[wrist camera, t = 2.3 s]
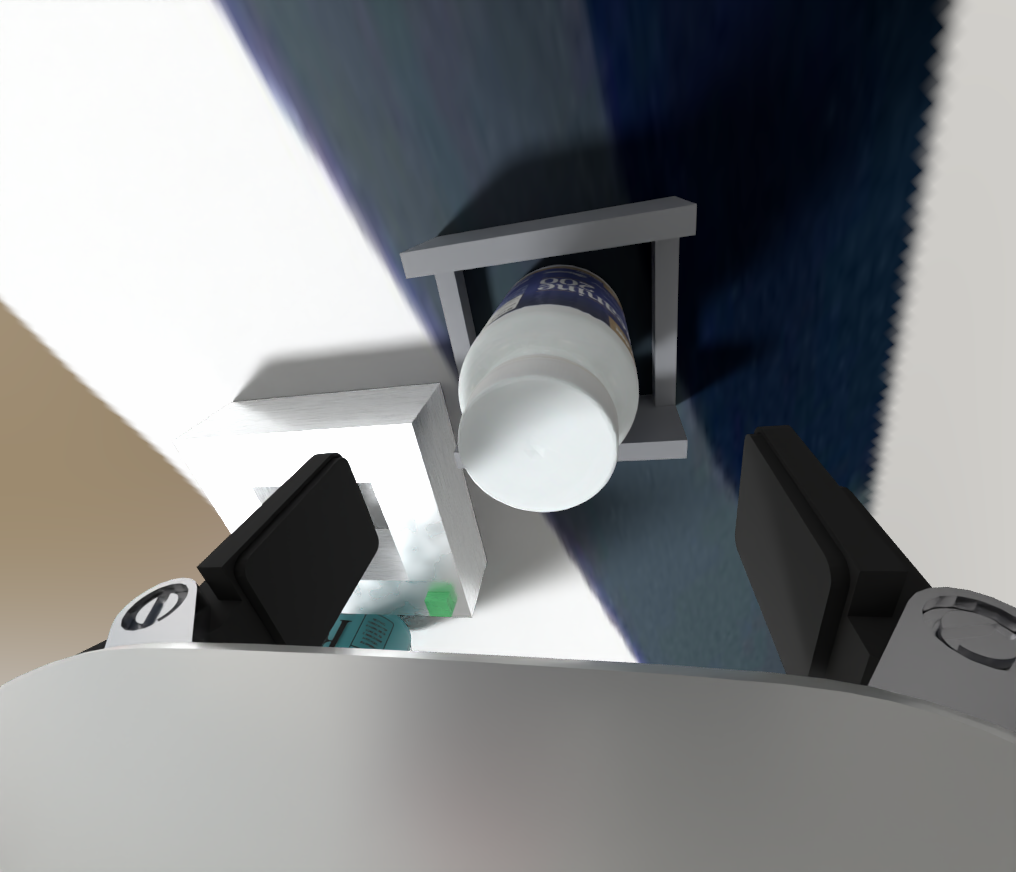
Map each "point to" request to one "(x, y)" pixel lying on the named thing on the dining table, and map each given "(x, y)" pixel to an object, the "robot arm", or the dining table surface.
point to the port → (373, 458)
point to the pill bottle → (548, 392)
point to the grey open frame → (567, 234)
